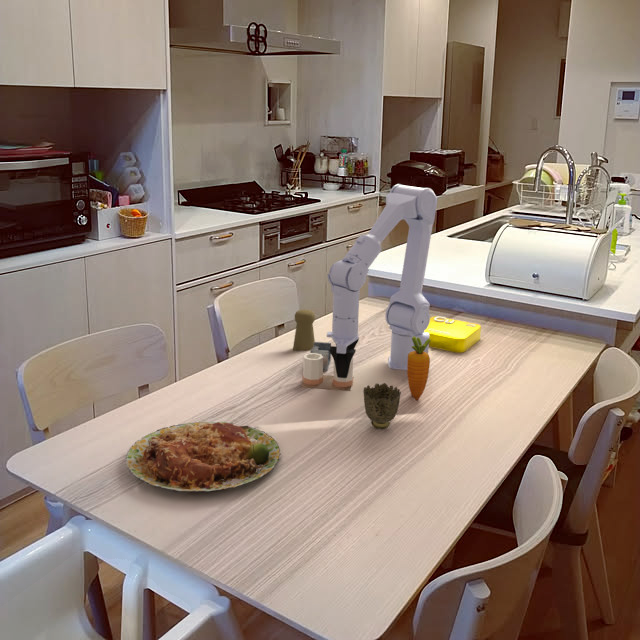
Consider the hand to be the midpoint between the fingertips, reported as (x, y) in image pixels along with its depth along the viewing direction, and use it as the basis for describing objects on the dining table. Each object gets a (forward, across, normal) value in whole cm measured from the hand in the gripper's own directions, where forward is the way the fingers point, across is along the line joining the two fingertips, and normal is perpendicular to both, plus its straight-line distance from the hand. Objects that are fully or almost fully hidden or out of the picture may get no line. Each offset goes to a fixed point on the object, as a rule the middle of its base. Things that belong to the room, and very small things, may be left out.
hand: (343, 372), depth 160 cm
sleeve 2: (+3, 0, 0) cm, 3 cm away
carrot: (+4, +4, +16) cm, 17 cm away
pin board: (+4, 0, -4) cm, 5 cm away
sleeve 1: (+3, 0, -7) cm, 7 cm away
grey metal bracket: (+4, -10, -3) cm, 11 cm away
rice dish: (+4, +37, -22) cm, 43 cm away
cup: (+4, +18, +10) cm, 21 cm away
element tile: (+4, -38, +24) cm, 45 cm away
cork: (+4, -22, -12) cm, 26 cm away
